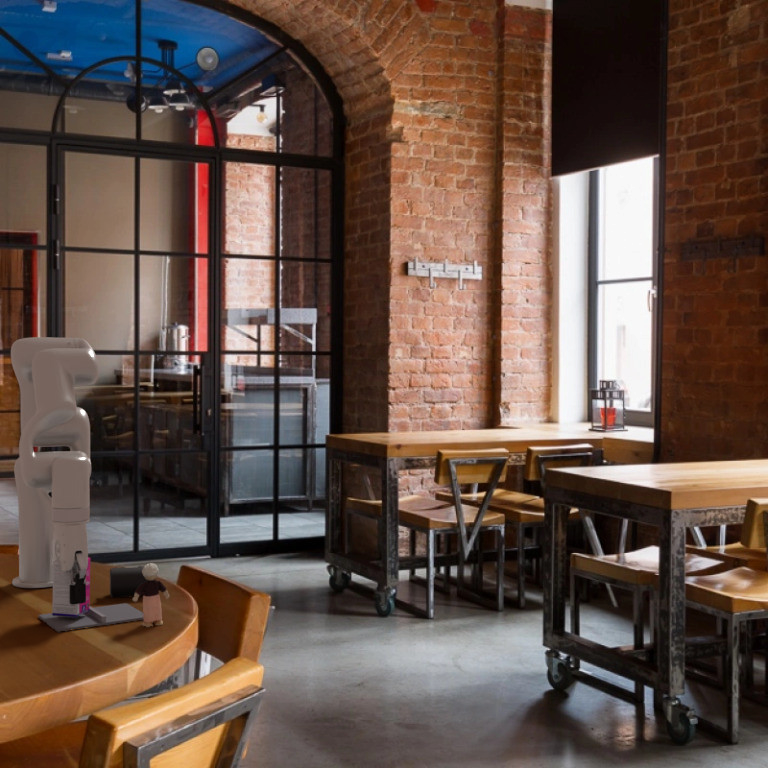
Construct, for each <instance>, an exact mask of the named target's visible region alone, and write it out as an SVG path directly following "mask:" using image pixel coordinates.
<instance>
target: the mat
mask: <svg viewBox="0 0 768 768" xmlns="http://www.w3.org/2000/svg"><path fill="white" fill-rule="evenodd" d="M38 619H40V620H41V621H42V620H43V622H44V623H45V622H46V623H47V624H46V623H45V624H46V625H47V626H49V627H50V628H52V630H54V629H55V630H54V631H55V632H57V631H58V632H57V633H61V632H60V631H65V632H67V631H66V630H71V629H78V628H85V627H92V626H100V625H107V626H110V625H109V624H114V625H117V624H116V623H121V624H123V623H122V622H128V623H131V622H130V621H134V622H136V621H135V620H141V621H144V619H143V611H141V610H139V609H137V608H135V607H134V606H132V605H131V604H129V603H125V602H124V603H119V604H118V603H117V604H112V605H110V604H109V605H102V606H94V607H92V606H90V610H89V611H88V612H85V613H83V614H81V615H79V616H78V617H65V616H52V613H51V612H50V613H44V614H43V613H42V614H38ZM100 627H101V626H100Z"/></svg>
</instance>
